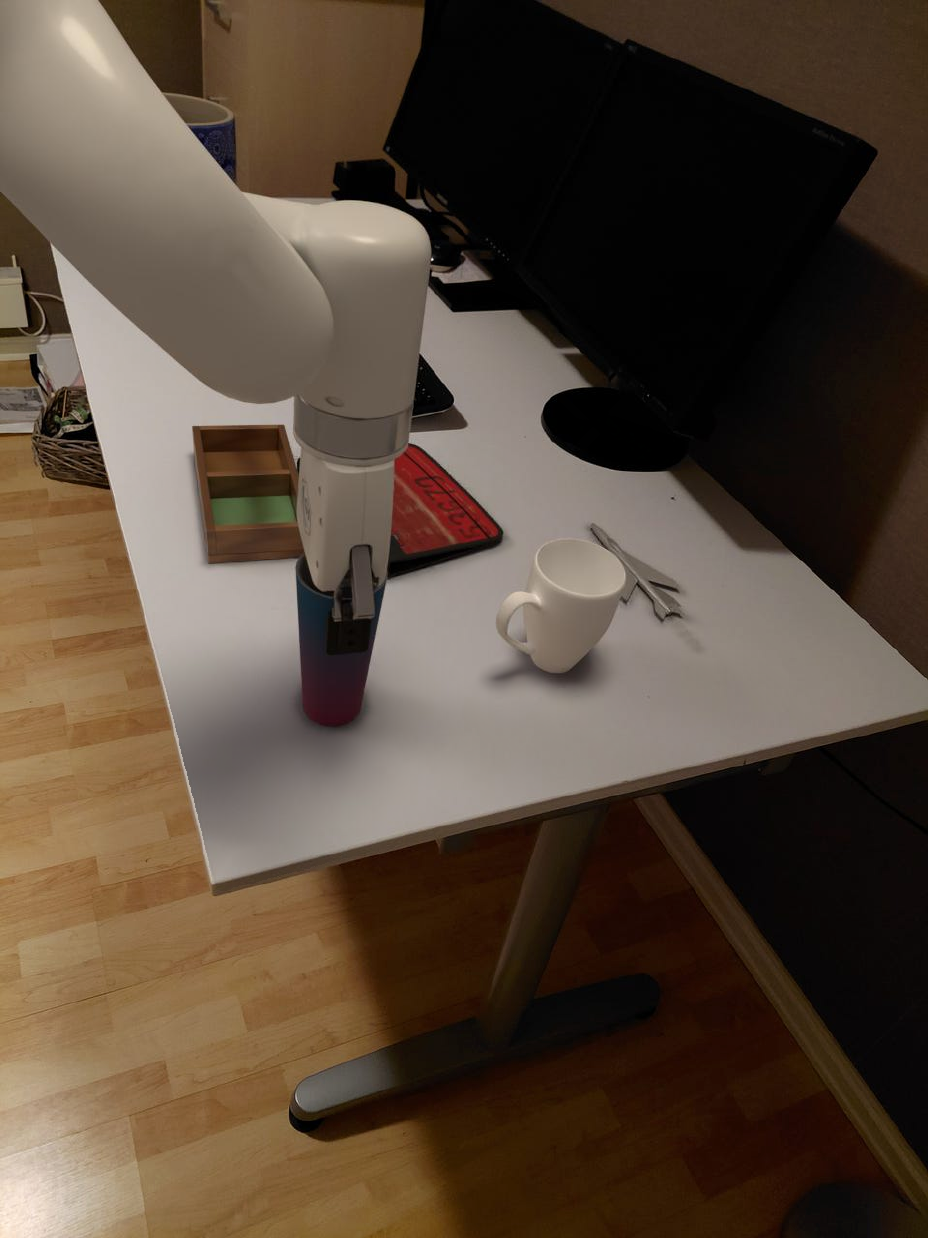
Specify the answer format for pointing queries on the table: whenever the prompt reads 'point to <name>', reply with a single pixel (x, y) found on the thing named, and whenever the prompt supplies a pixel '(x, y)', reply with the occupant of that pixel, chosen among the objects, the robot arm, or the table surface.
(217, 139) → the planter
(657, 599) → the toy airplane
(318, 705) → the cup
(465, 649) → the table surface
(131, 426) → the table surface
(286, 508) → the wooden compartment tray
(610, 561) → the mug
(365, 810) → the table surface
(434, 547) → the binder
